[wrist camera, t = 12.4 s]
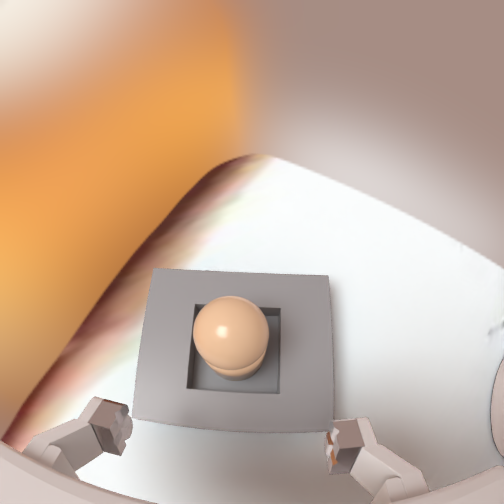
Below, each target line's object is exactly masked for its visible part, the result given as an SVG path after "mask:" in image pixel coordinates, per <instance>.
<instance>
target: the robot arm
mask: <svg viewBox="0 0 504 504" xmlns="http://www.w3.org/2000/svg"><path fill="white" fill-rule="evenodd" d="M128 412H129V409H128V406H127V405H125V404H122V403H118V402H114V401H110V400H107V399H102V398H99V397H93V398H92V399H91V400H90V402H89V403H88V405H87V406H86V408H85V409H84V410H83V412H82V413H81V415H80V416H79V418H78V419H73V420H71V421H68V422H66V423H64V424H61V425H59V426H57V427H54V428H52V429H50V430H47V431H45V432H43V433H40V434H38V435H35V436H34V437H33V438H32V440H31V441H30V442H29V444H28V445H27V447H26V448H25V449H24V451H23V452H22V453H21V452H19V451H17V450H16V449H14V448H12V447H10V446H9V445H7V444H5V443H4V442H2V441H0V504H157V503H153V502H149V501H145V500H141V499H137V498H133V497H129V496H126V495H122V494H119V493H116V492H112V491H109V490H106V489H103V488H100V487H97V486H94V485H92V484H89V483H86V482H84V481H81V480H80V479H79V477H78V476H77V474H76V473H75V471H76V470H78V469H79V468H81V467H83V466H84V465H86V464H87V463H89V462H90V461H92V460H93V459H94V458H96V457H97V456H99V455H100V454H102V453H103V451H104V452H107V453H111V454H115V455H119V456H121V455H122V453H123V451H124V449H125V447H126V443H125V440H127V439H129V438H130V436H131V434H132V429H133V423H132V419H131V417H130V416H129V415H128ZM491 426H492V433H493V438H494V441H495V444H496V447H497V449H498V451H499V452H500V454H501V455H502V456H503V457H504V359H503V360H502V363H501V365H500V367H499V370H498V373H497V376H496V379H495V383H494V388H493V394H492V402H491ZM328 427H329V432H328V433H326V437H325V444H324V446H325V454H326V455H327V456H328V457H329V458H328V461H327V465H328V471H329V474H342V473H350V475H351V476H352V477H353V478H354V479H355V480H356V481H357V482H358V483H359V484H360V485H361V486H362V487H363V488H364V489H365V490H366V491H367V492H368V493H369V494H370V495H372V496H373V497H374V499H373V500H372V502H371V503H370V504H504V466H500V465H499V466H495V467H492V468H490V469H488V470H486V471H484V472H481V473H479V474H477V475H475V476H472V477H470V478H467V479H465V480H462V481H460V482H457V483H455V484H452V485H449V486H447V487H444V488H441V489H438V490H435V491H432V492H430V491H429V489H428V486H427V484H426V482H425V479H424V477H423V474H422V472H421V470H419V469H417V468H416V467H414V466H413V465H411V464H410V463H408V462H407V461H405V460H404V459H402V458H401V457H399V456H398V455H396V454H395V453H393V452H392V451H391V450H389V449H388V448H386V447H385V446H383V445H382V444H380V445H378V443H377V440H376V437H375V434H374V432H373V429H372V426H371V424H370V421H369V419H368V418H367V417H362V418H351V419H340V420H331V421H330V423H329V426H328Z"/></svg>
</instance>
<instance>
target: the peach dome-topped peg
mask: <svg viewBox="0 0 504 504" xmlns="http://www.w3.org/2000/svg"><path fill="white" fill-rule="evenodd" d="M193 339H194V343H195V346H196V348H197V350H198V352H199V354H200V355H201V356H202V358H203V359H204V360H205V361H206V363H207V364H208V365H209V366H210V368H211V369H212V370H213V371H214V372H215V373H216V374H217V375H218V376H220V377H221V378H223V379H226V380H229V381H242V380H245V379H248V378H250V377H252V376H253V375H254V374H255V373H256V372H257V371H258V370H259V369H260V367H261V365H262V363H263V360H264V356H265V352H266V348H267V344H268V340H269V327H268V323H267V320H266V318H265V316H264V314H263V312H262V311H261V310H260V308H259V307H258V306H257V305H255V304H254V303H253V302H251V301H249V300H247V299H245V298H243V297H239V296H223V297H219V298H216V299H214V300H212V301H210V302H209V303H207V304H206V305H205V306H204V307H203V308H202V309H201V311H200V312H199V314H198V315H197V317H196V319H195V322H194V327H193Z"/></svg>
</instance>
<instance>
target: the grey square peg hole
mask: <svg viewBox="0 0 504 504" xmlns="http://www.w3.org/2000/svg"><path fill="white" fill-rule="evenodd" d="M223 296H239V297H243V298H245V299H247V300H249V301H251V302H253V303H254V304H255V305H257V306H258V307H259V308H260V310H261V311H262V312H263V314H264V316H265V318H266V320H267V323H268V327H269V340H268V344H267V348H266V352H265V356H264V360H263V363H262V365H261V367H260V369H259V370H258V371H257V372H256V373H255V374H254V375H253V376H252V377H250V378H248V379H245V380H242V381H229V380H226V379H223V378H221V377H220V376H218V375H217V374H216V373H215V372H214V371H213V370H212V369H211V368H210V366H209V365H208V364H207V363H206V361H205V360H204V359H203V358H202V356H201V355H200V354H199V352H198V350H197V348H196V346H195V343H194V339H193V327H194V322H195V319H196V317H197V315H198V314H199V312H200V311H201V309H202V308H203V307H204V306H205V305H206V304H207V303H209V302H210V301H212V300H214V299H216V298H219V297H223ZM132 418H135V419H140V420H145V421H150V422H156V423H162V424H169V425H175V426H183V427H190V428H199V429H209V430H220V431H235V432H257V433H300V432H322V431H329V427H328V426H329V423H330V421H331V420H334V378H333V343H332V322H331V304H330V290H329V277H328V276H327V275H295V274H267V273H243V272H221V271H200V270H181V269H162V268H154V269H153V274H152V279H151V284H150V289H149V295H148V300H147V306H146V311H145V317H144V323H143V330H142V336H141V343H140V350H139V357H138V364H137V372H136V381H135V390H134V399H133V410H132Z"/></svg>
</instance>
